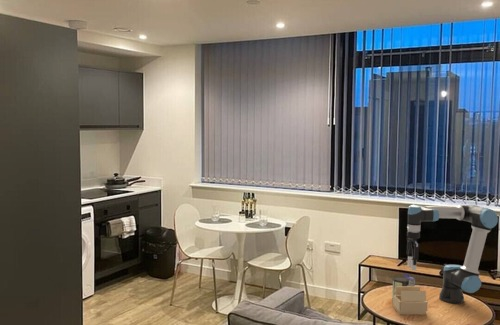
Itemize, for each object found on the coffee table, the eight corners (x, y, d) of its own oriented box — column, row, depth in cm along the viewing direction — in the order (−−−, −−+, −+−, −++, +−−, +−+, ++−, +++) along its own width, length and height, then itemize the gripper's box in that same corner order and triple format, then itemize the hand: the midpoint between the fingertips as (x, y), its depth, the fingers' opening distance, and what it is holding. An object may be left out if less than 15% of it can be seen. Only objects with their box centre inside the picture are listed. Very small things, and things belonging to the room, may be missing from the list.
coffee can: (407, 297, 331) (408, 277, 330) (409, 303, 321) (410, 281, 320) (391, 296, 333) (392, 275, 332) (392, 301, 323) (393, 280, 322)
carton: (419, 307, 313) (420, 295, 313) (427, 315, 301) (427, 302, 301) (392, 307, 313) (393, 295, 312) (399, 314, 301) (399, 301, 300)
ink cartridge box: (411, 294, 338) (412, 273, 337) (414, 297, 333) (415, 275, 332) (397, 294, 338) (398, 273, 337) (400, 297, 332) (401, 275, 331)
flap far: (418, 294, 312) (418, 294, 313) (420, 286, 310) (420, 286, 310) (394, 294, 312) (394, 293, 312) (396, 286, 309) (396, 286, 310)
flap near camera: (425, 290, 303) (425, 290, 302) (426, 301, 301) (426, 301, 301) (400, 290, 302) (400, 290, 302) (401, 300, 300) (401, 300, 300)
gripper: (402, 227, 312) (400, 264, 314) (413, 234, 293) (411, 273, 295) (413, 228, 313) (411, 264, 315) (425, 234, 294) (423, 273, 296)
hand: (411, 268), depth 305 cm, fingers open, 6 cm apart
